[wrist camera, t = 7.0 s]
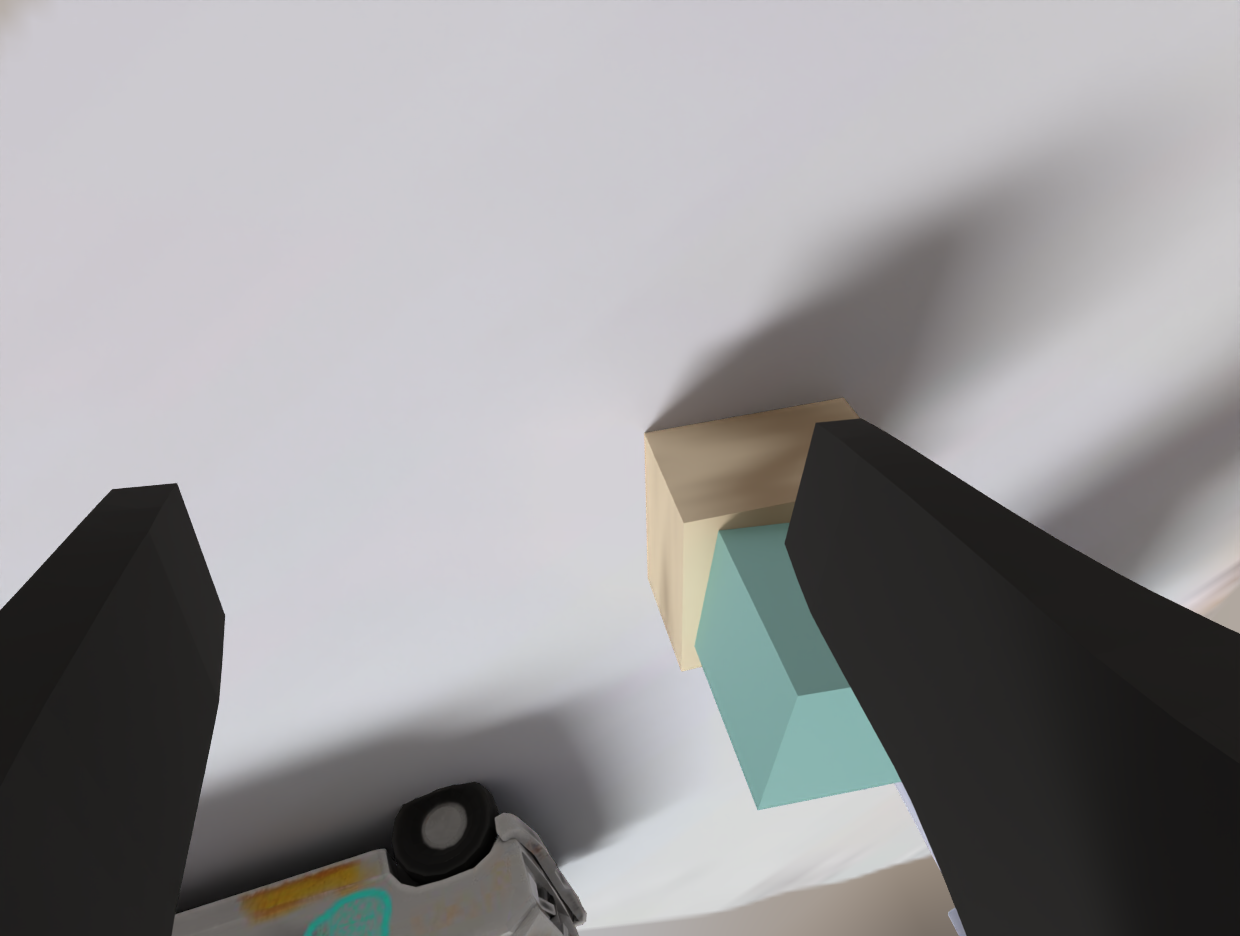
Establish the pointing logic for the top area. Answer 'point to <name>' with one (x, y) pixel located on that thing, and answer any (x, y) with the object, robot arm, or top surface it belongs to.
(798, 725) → the teal block
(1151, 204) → the top surface
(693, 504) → the beech block
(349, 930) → the toy car
